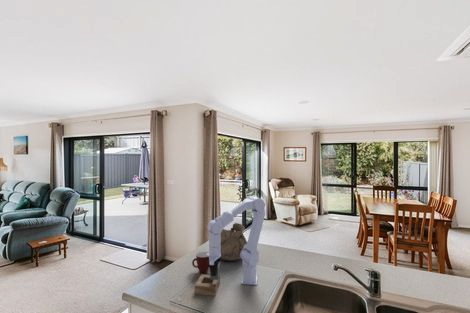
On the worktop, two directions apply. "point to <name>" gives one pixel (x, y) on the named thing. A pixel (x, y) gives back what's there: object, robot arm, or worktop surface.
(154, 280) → the worktop surface
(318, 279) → the worktop surface
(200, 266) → the mug
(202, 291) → the socket block
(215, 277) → the plug
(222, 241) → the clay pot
